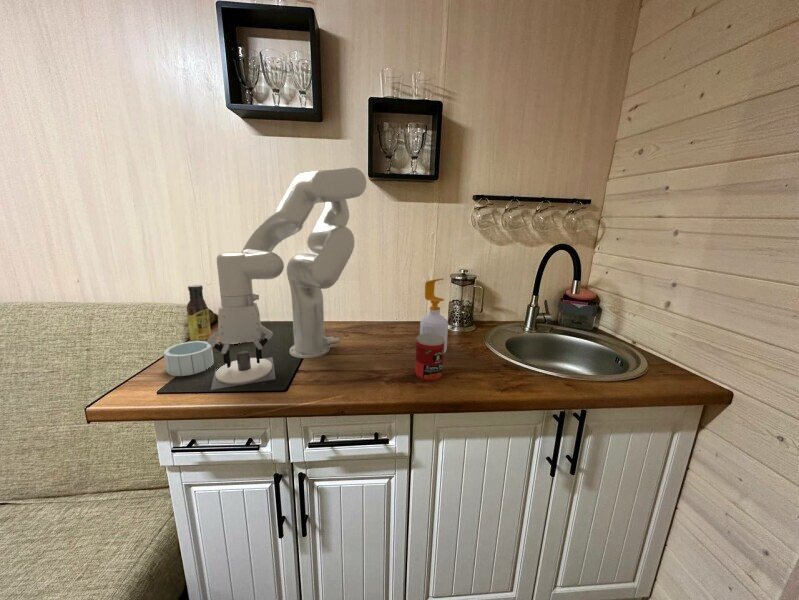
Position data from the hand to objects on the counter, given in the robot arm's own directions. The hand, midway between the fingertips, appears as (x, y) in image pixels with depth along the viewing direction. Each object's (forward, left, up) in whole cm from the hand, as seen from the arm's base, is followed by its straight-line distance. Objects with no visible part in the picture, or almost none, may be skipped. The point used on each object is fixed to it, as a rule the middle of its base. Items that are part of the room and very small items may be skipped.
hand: (243, 362), depth 87 cm
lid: (0, 0, -3) cm, 3 cm away
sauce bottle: (+14, -30, -3) cm, 33 cm away
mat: (0, 0, -3) cm, 3 cm away
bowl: (+14, -9, -3) cm, 17 cm away
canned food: (-47, +20, -3) cm, 51 cm away
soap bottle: (-57, +5, -3) cm, 57 cm away
